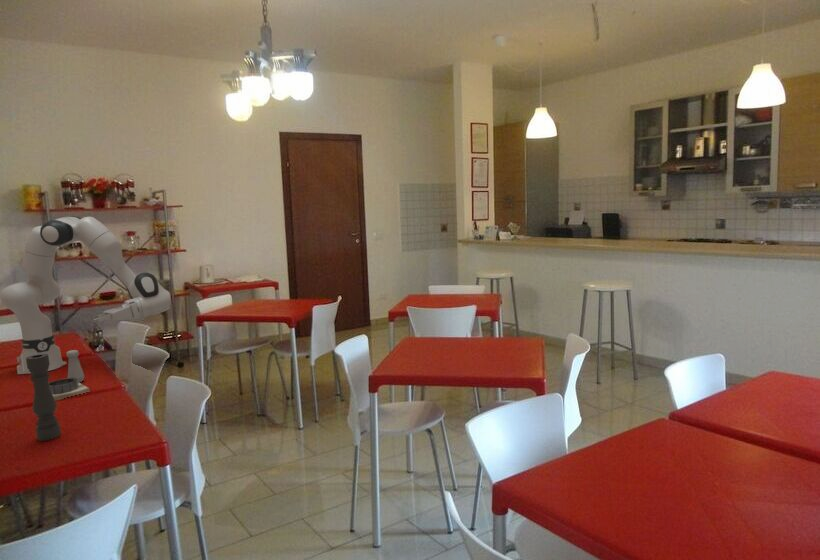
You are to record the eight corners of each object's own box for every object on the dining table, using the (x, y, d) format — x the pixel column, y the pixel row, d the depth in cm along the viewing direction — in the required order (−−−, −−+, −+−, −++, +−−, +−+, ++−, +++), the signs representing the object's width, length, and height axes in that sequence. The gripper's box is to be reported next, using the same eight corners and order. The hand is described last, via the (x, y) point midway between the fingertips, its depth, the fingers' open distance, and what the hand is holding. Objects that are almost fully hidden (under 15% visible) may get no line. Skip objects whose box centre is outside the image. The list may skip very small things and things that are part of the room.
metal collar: (44, 391, 223) (42, 383, 222) (73, 383, 230) (72, 376, 229) (51, 396, 216) (50, 388, 215) (81, 388, 223) (80, 381, 222)
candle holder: (43, 433, 183) (31, 354, 179) (64, 431, 183) (53, 352, 180) (33, 441, 177) (20, 359, 173) (54, 439, 177) (42, 358, 174)
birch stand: (37, 395, 223) (36, 391, 223) (78, 385, 233) (77, 381, 233) (47, 402, 213) (47, 398, 213) (89, 392, 223) (89, 388, 223)
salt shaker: (88, 380, 239) (83, 348, 238) (79, 384, 234) (74, 352, 232) (74, 380, 240) (70, 349, 238) (65, 385, 234) (60, 352, 233)
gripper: (124, 302, 256) (89, 311, 248) (135, 302, 240) (98, 312, 232) (128, 316, 257) (93, 325, 249) (139, 318, 241) (103, 328, 232)
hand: (96, 319), depth 240 cm, fingers open, 8 cm apart
